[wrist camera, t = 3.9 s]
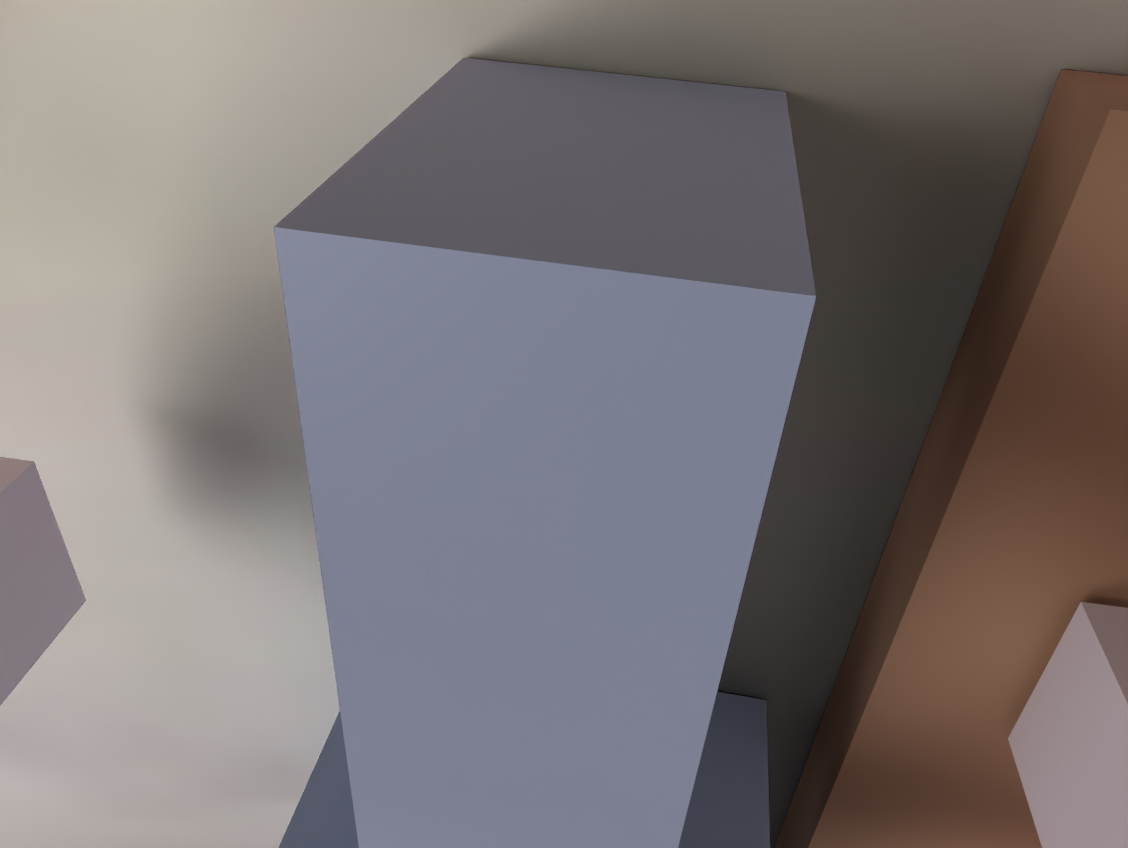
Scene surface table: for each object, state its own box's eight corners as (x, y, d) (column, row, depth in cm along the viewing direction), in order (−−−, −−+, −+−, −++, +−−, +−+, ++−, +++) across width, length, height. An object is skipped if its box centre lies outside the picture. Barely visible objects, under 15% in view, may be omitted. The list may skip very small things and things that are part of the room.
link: (679, 985, 22) (664, 1257, 18) (402, 928, 22) (326, 1176, 18) (946, 108, 9) (1098, 330, 5) (320, 41, 10) (38, 196, 6)
